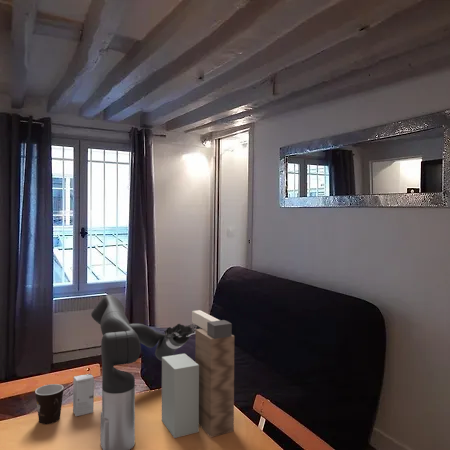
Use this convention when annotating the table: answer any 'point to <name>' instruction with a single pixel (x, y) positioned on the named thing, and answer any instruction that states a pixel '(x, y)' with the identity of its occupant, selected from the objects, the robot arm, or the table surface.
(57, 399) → the coffee mug
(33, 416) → the table surface
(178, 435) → the pale green block
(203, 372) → the brown tall block
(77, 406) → the skincare box
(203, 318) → the bar
